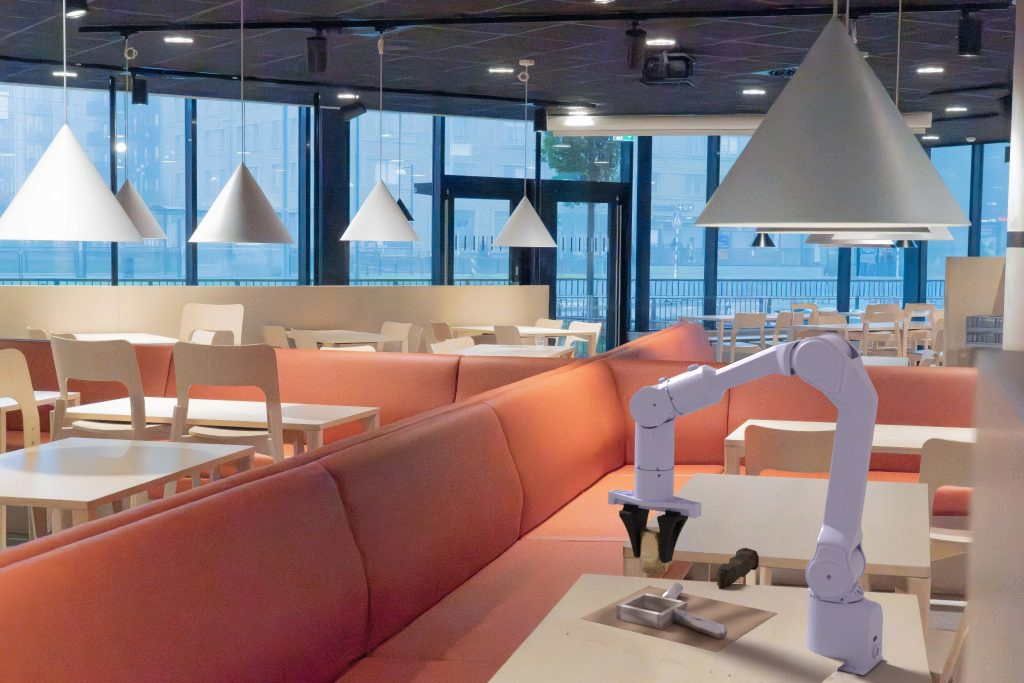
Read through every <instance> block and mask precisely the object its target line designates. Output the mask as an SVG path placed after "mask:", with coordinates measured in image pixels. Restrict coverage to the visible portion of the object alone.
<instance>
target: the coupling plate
mask: <svg viewBox="0 0 1024 683" xmlns="http://www.w3.org/2000/svg"><path fill="white" fill-rule="evenodd" d="M667 590H668V589H666V588H660V587H656V586H655V587H654V586H651V585H648V586H645V587H644V588H641V589H639V590H637V591H635V592H633V593H631V594H628V595H626V596H624V597H622V598H620V599H618V600H616V601H614V602H612V603H610V604H608V605H605V606H603V607H601V608H599V609H597V610H595V611H592V612H590V613H589V614H587V615H584V616H582V617H580V619H581V620H584V621H588V622H593V623H596V624H602V625H604V626H609V627H613V628H616V629H617V628H618V629H621V630H626V631H629V632H634V633H637V634H638V633H639V634H643V635H646V636H650V637H655V638H659V639H662V640H666V641H670V642H675V643H679V644H683V645H688V646H691V647H695V648H700V649H704V650H707V651H712V652H716V653H718V652H719V651H721V650H722V649H724V648H726V647H727V646H728V645H731V644H732V643H734V642H735V641H736V640H738V639H740V638H741V637H743V636H744V635H746V634H747V633H749V632H751V631H752V630H754V629H756V628H757V627H758V626H760V625H762V624H763V623H764V622H766V621H768V620H769V619H771V618H773V617H775V616H776V615H777V614H778V612H776V611H775V612H774V611H769V610H764V609H759V608H757V607H756V608H755V607H750V606H746V605H741V604H736V603H731V602H727V601H721V600H719V599H718V600H717V599H713V598H708V597H703V596H698V595H694V594H688V593H684V592H682V594H681V595H680V596H679V597H678V599H677V600H675V599H670V598H666V597H662V596H663V594H664V593H665V592H666V591H667ZM674 609H679V610H682V611H685V612H688V613H691V614H693V615H696V616H699V617H702V618H705V619H708V620H711V621H713V622H716V623H719V624H722V625H725V626H726V627H727V635H726V637H725V638H724V639H722V640H720V639H718V638H715V637H712V636H709V635H707V634H704V633H701V632H699V631H696V630H693V629H690V628H688V627H685V626H682V625H679V624H677V623H674V622H672V619H671V616H672V612H673V610H674Z"/></svg>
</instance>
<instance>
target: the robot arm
mask: <svg viewBox="0 0 1024 683" xmlns="http://www.w3.org/2000/svg"><path fill="white" fill-rule="evenodd" d="M772 374H778V375H781V376H785V377H790V378H791V377H793V376H795V375H797V376H798V378H799V379H800V380H801V381H803V382H805V384H808V385H810V386H811V387H813V388H815V389H817V390H819V391H820V392H822V394H824V396H825V397H826V398H827V399H828V401H830V402H831V403H832V405H833V406H834V407H835V408H836V409H837V416H836V425H835V431H834V438H833V448H832V452H831V453H832V455H831V462H830V468H829V469H830V470H829V476H828V483H827V484H828V485H827V490H826V491H827V492H826V498H825V499H826V500H825V505H824V512H823V521H822V525H821V528H820V532H819V535H818V538H817V542H816V546H815V551H814V554H813V556H812V558H811V559H809V561H808V563H807V565H806V568H805V571H804V572H805V573H804V574H805V582H806V584H807V586H808V588H807V614H806V616H807V618H806V619H807V620H806V621H807V623H806V648H807V649H808V650H809V651H810V652H812V653H814V654H816V655H819V656H823V657H827V658H835V659H841V660H845V662H843V663H842V664H841V665H840V666H839V667H837V670H839V671H842V672H843V671H844V672H847V673H852V674H856V675H860V676H864V675H866V674H868V672H870V671H871V670H872V669H874V668H875V666H876V665H878V664H879V663H880V662H881V661H882V660H883V659H884V655H883V654H882V652H883V629H884V628H883V624H884V623H883V621H884V620H883V618H884V617H883V616H884V615H883V614H884V613H883V608H882V605H881V603H879V602H876V601H874V600H870V599H868V598H866V597H865V596H864V595H865V591H864V590H863V589H862V587H861V583H859V581H858V580H860V578H861V577H862V576H863V575H864V573H865V571H866V568H867V559H866V556H865V552H864V549H863V545H862V544H863V536H864V535H863V530H862V519H863V512H864V507H865V498H866V492H867V484H868V476H869V470H870V464H871V463H870V462H871V457H872V456H871V454H872V448H873V443H874V442H873V441H874V434H875V429H876V428H875V427H876V420H877V412H878V406H879V405H878V404H879V395H878V393H877V390H876V388H875V386H874V384H873V382H872V380H871V378H870V376H869V373H868V371H867V369H866V367H865V365H864V363H863V359H862V355H861V353H860V351H859V350H858V349H857V348H856V347H855V346H854V345H853V344H852V343H851V342H850V341H849V340H848V339H846V337H844V336H843V335H840V334H837V333H832V332H826V333H823V334H820V335H818V336H811V337H807V338H803V339H798V340H794V341H790V342H789V341H788V342H785V343H784V342H783V343H780V344H777V345H773V346H770V347H768V348H766V349H763V350H761V351H759V352H756V353H754V354H752V355H749V356H747V357H744V358H743V359H740V360H738V361H735V362H733V363H730V364H728V365H726V366H723V367H721V368H715V367H713V366H710V365H708V364H703V365H699V363H694V364H691V365H689V366H687V371H685V372H683V373H680V374H677V375H675V376H672V377H667V376H663V377H662V378H659V379H658V382H659V383H658V384H654V385H651V386H649V385H647V386H643V387H641V388H640V389H638V390H637V391H636V392H634V394H633V395H632V397H631V398H630V401H629V412H630V415H631V417H632V419H633V420H634V422H635V425H634V426H635V428H634V429H635V430H634V434H635V435H634V486H633V488H634V490H624V489H623V490H622V489H612V490H609V491H607V494H608V496H607V501H608V502H607V504H608V505H611V506H612V505H613V506H615V505H618V506H623V507H622V509H621V510H619V511H618V517H619V518H620V520H621V521H622V523H623V525H624V527H625V530H626V532H627V535H628V538H629V541H630V544H631V549H632V553H633V557H634V558H637V559H638V558H640V529H641V528H644V527H648V525H647V524H648V518H649V514H650V511H657V512H662V513H664V514H661V515H658V516H656V520H657V524H658V527H659V530H660V538H661V562H662V563H667V564H668V563H669V562H672V561H673V557H674V553H675V549H676V545H677V543H678V542H677V541H678V539H679V537H680V535H681V533H682V530H683V528H684V526H685V525H686V522H687V521H688V519H689V518H691V519H696V518H699V517H701V516H702V502H699V501H693V500H689V499H687V498H683V497H680V496H679V497H678V496H677V495H675V494H674V488H675V485H674V484H675V481H674V480H675V479H674V478H675V420H676V419H677V417H678V418H679V417H681V418H682V417H684V416H687V415H690V414H693V413H695V412H697V411H700V410H703V409H705V408H708V407H711V406H713V405H717V404H718V403H721V402H722V400H723V398H724V397H725V396H724V395H725V393H726V391H727V390H729V389H732V388H734V387H738V386H741V385H743V384H746V383H749V382H751V381H754V380H757V379H760V378H764V377H765V376H769V375H772Z"/></svg>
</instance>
